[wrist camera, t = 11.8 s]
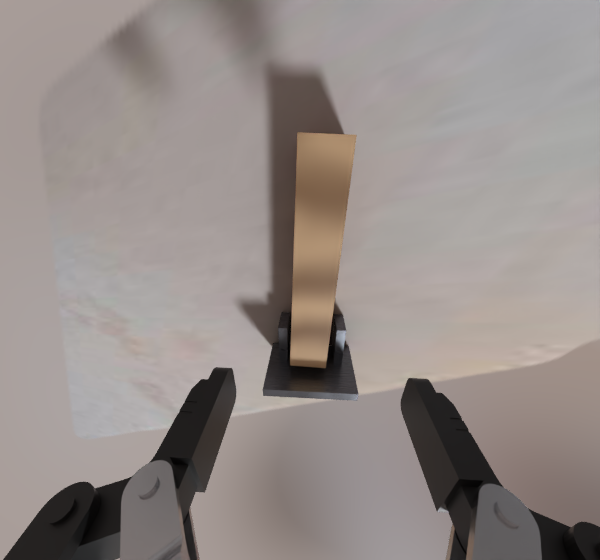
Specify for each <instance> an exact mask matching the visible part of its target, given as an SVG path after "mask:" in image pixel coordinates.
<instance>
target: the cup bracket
mask: <svg viewBox="0 0 600 560" xmlns="http://www.w3.org/2000/svg"><path fill="white" fill-rule="evenodd" d="M278 334H279V343H273V346H272V351H271V355H270V360H269V364H268V369H267V373H266V378H265V382H264V387H263V396H279V397H298V398H317V399H336V400H357V399H358V390H357V385H356V380H355V375H354V370H353V365H352V360H351V355H350V350H349V346H344V343H345V335H346V328H345V323H344V318H343V315H337V314H335V315H334V325H333V336H332V346H329V347H328V355H327V362H326V368H318V367H304V366H291V365H290V350H291V344H290V313H284V312H282V313H281V317H280V322H279V327H278Z"/></svg>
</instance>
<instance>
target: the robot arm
mask: <svg viewBox="0 0 600 560" xmlns="http://www.w3.org/2000/svg"><path fill="white" fill-rule="evenodd" d="M235 399H236V386H235V380H234V375H233V370H232V368H218V367H216V368H214V369H213V371H212V373H211V375H210V377H209V379H208V380H205V379H201V380H200V381H199V382H198V383H197V384H196V385H195V386H194V387H193V388H192V389H191V391H190V393H189V395H188V397H187V398H186V400H185V403H184V404H183V406H182V407H181V409H180V412H179V414H178V415H177V417H176V418H175V420H174V422H173V424H172V426H171V427H170V429H169V431H168V433H167V435H166V437H165V438H164V440H163V442H162V444H161V446H160V447H159V449H158V451H157V453H156V454H155V456H154V457H153V459H152V460H151V461H150V462H149V463H148V464H146V465H145V466H144V467H142V468H141V469H139V470H138V471H137V472H136V473H135V474H134V475H133V476H132V477H130V478H128V479H125V480H122V481H119V482H115V483H112V484H109V485H105V486H102V487H99V488H94V487H93V486H92V485H91V484H90V483H88V482H78V483H75V484H72V485H70V486H68V487H67V488H65V489H63V490H61V491H60V492H59V493H57V494H56V495H55V496H54V497H53V498H51V499H50V500H49V501H48V502H47V503H46V504H45V505H44V507H43V508H42V509H41V510H40V511H39V513H38V514H37V515H36V517H35V518H34V519H33V521H32V522H31V523H30V525H29V526H28V527H27V529H26V530H25V532H24V533H23V534H22V535H21V537H20V538H19V539H18V541H17V542H16V544H15V545H14V546H13V547H12V549H11V550H10V551H9V553H8V554H7V555H6V557H5V558H4V559H3V560H115V559H118V558H120V560H199V554H198V548H197V542H196V537H195V531H194V525H193V520H192V515H191V509H190V506H191V503H192V500H193V497H194V495H195V492H205V490H206V487H207V484H208V481H209V478H210V475H211V472H212V469H213V466H214V463H215V460H216V457H217V454H218V451H219V448H220V445H221V442H222V439H223V437H224V434H225V430H226V427H227V424H228V421H229V419H230V416H231V413H232V410H233V407H234V403H235ZM401 411H402V415H403V418H404V420H405V423H406V426H407V429H408V431H409V434H410V437H411V440H412V443H413V445H414V448H415V451H416V454H417V457H418V460H419V462H420V465H421V468H422V471H423V474H424V476H425V479H426V482H427V485H428V488H429V490H430V493H431V496H432V499H433V502H434V504H435V507H436V510H437V512H447V513H449V515H450V517H451V520H452V523H453V524H452V527H451V532H450V538H449V545H448V550H447V555H446V560H600V527H598V526H596V525H594V524H591V523H587V522H579V523H577V524H575V525H574V526H573V527H569V526H566V525H564V524H562V523H559V522H557V521H555V520H552V519H550V518H548V517H545V516H543V515H540V514H538V513H536V512H534V511H532V510H530V509H528V508H527V507H526V506H525V505H524V504H523V503H522V502H521V500H520V499H518V498H517V497H516V496H515V495H514V494H513V493H511V492H510V491H508V490H507V489H505V488H504V487H503V486H502V485H501V484H500V482H499V481H498V479H497V478H496V476H495V474H494V473H493V471H492V469H491V467H490V466H489V464H488V462H487V461H486V459H485V457H484V456H483V454H482V452H481V450H480V449H479V447H478V445H477V443H476V442H475V440H474V438H473V437H472V435H471V433H469V431H468V428H467V426H466V425H465V423H464V421H462V418H461V416H460V415H459V413H458V411H457V410H456V408H455V406H454V405H453V404H452V403H451V402H450V401H449V400H448V399H447V398H446V397H445V396H444V395H443V394H442V393H436V392H435V390H434V388H433V386H432V384H431V383H430V381H429V380H428V379H417V378H409V379H408V380H407V383H406V386H405V389H404V392H403V395H402V399H401Z"/></svg>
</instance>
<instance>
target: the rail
mask: <svg viewBox="0 0 600 560" xmlns="http://www.w3.org/2000/svg"><path fill="white" fill-rule="evenodd" d="M355 143H356V135H346V134H323V133H300V132H297V162H296V194H295V225H294V256H293V288H292V319H291V350H290V365H291V366H304V367H318V368H326V362H327V355H328V347H329V339H330V332H331V324H332V317H333V309H334V302H335V294H336V287H337V279H338V271H339V264H340V256H341V249H342V241H343V234H344V226H345V218H346V211H347V203H348V196H349V188H350V181H351V173H352V165H353V158H354V150H355Z"/></svg>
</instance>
